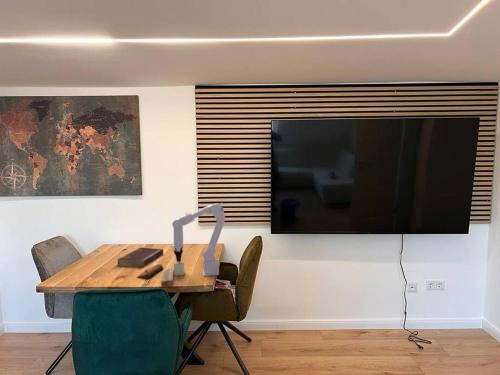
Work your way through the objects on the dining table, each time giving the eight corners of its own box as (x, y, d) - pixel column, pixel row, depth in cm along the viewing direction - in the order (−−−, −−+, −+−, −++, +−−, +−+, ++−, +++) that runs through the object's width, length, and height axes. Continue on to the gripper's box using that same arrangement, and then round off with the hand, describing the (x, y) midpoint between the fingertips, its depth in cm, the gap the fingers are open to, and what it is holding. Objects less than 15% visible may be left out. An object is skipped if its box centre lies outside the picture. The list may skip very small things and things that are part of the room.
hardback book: (143, 268, 201) (143, 260, 201) (117, 266, 205) (117, 259, 204) (163, 255, 230) (163, 248, 229) (140, 254, 233) (140, 247, 233)
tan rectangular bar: (173, 272, 192) (173, 268, 192) (172, 284, 172) (172, 280, 172) (163, 273, 190) (163, 269, 190) (161, 285, 171) (161, 281, 171)
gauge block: (184, 272, 193) (183, 260, 192) (184, 274, 188) (183, 263, 187) (173, 272, 191) (173, 261, 191) (173, 275, 186) (173, 264, 186)
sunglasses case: (151, 268, 200) (155, 259, 198) (159, 274, 199) (164, 265, 197) (135, 278, 182) (140, 269, 181) (144, 285, 181) (149, 276, 180)
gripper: (172, 235, 194) (172, 256, 195) (171, 241, 180) (171, 263, 181) (183, 235, 195) (183, 255, 197) (183, 240, 181) (183, 262, 182)
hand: (178, 259), depth 189 cm, fingers open, 7 cm apart
